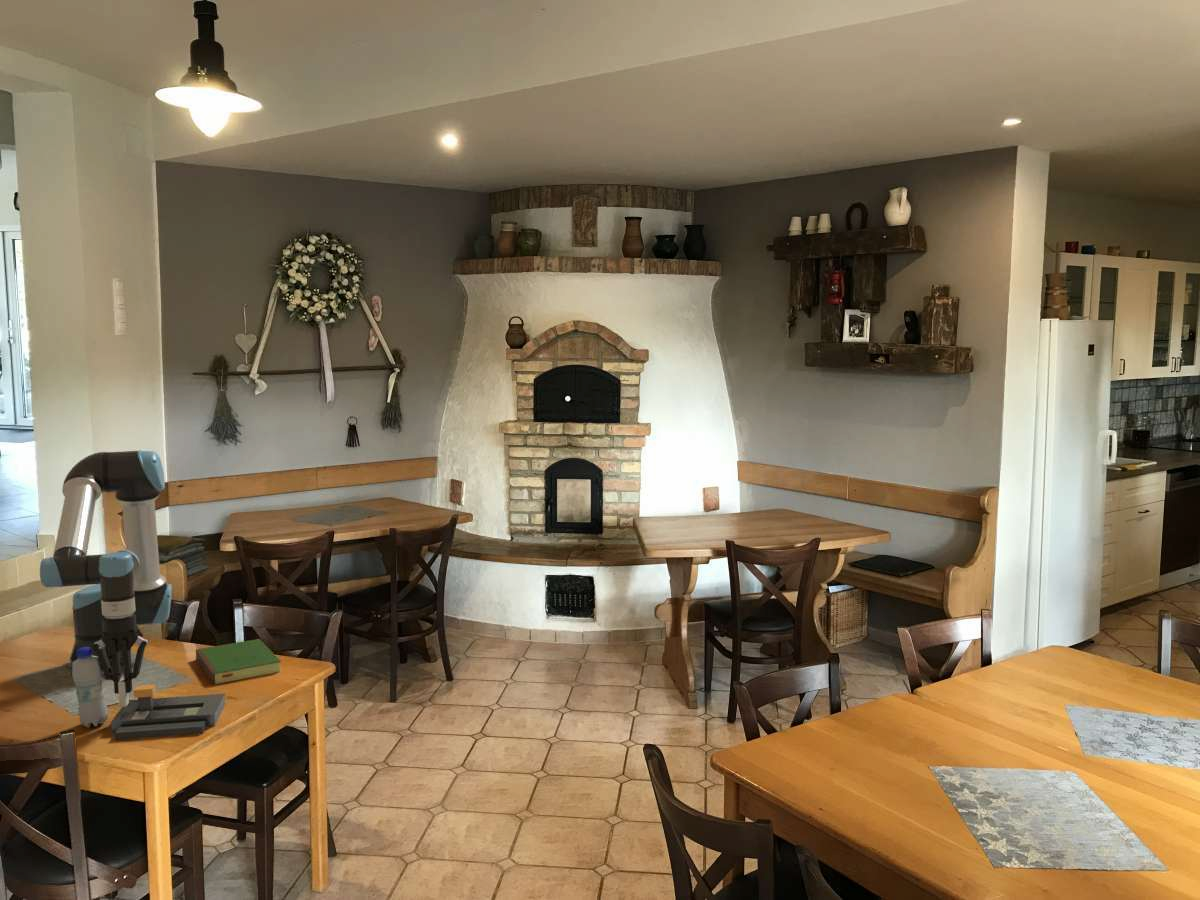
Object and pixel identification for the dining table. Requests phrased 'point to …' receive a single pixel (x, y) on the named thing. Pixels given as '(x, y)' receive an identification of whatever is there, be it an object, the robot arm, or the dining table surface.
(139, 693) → the toggle
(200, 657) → the hardcover book
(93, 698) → the bottle
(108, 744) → the dining table surface
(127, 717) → the panel
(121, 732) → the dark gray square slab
